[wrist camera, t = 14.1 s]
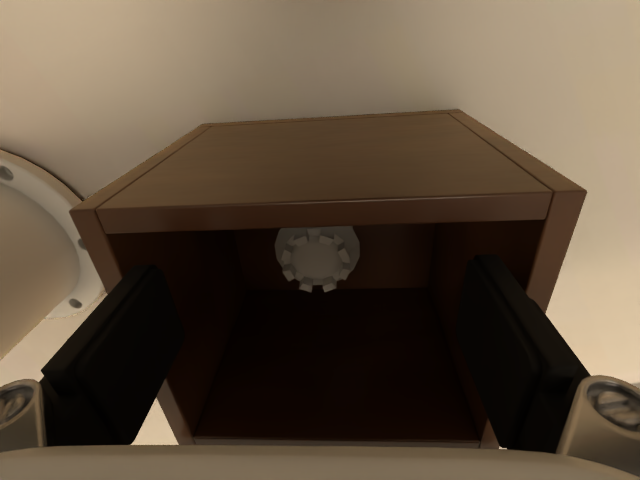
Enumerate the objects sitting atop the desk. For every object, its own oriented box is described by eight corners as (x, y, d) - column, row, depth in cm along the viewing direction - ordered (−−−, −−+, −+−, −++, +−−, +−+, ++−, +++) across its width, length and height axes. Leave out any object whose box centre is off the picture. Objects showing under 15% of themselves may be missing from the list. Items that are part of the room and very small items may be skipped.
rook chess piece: (355, 133, 18) (364, 195, 11) (372, 210, 20) (388, 301, 13) (273, 154, 19) (234, 224, 12) (298, 226, 21) (276, 320, 14)
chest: (201, 123, 19) (65, 210, 10) (459, 109, 18) (589, 190, 9) (240, 292, 25) (179, 447, 15) (436, 288, 24) (497, 453, 14)
